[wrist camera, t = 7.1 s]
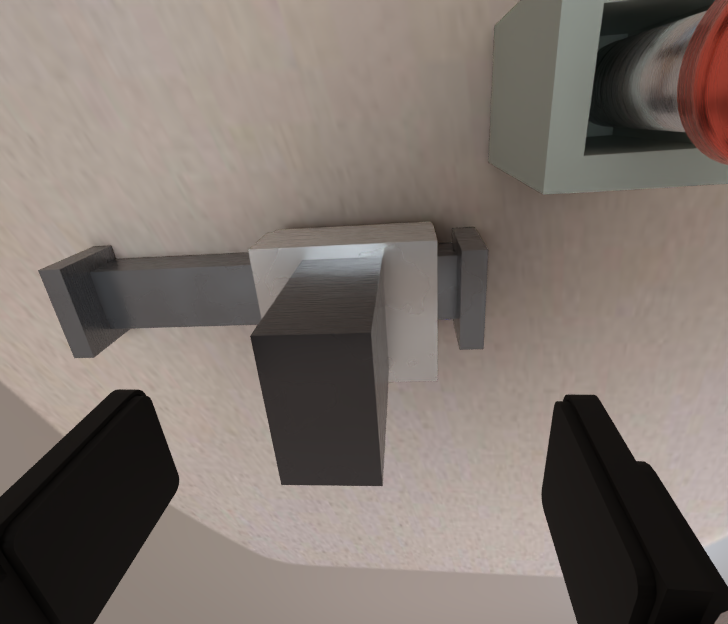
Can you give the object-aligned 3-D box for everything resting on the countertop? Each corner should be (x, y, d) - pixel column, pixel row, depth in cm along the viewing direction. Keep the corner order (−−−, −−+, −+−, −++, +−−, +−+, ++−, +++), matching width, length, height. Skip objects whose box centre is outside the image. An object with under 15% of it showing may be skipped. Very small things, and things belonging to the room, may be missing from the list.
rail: (474, 226, 20) (488, 249, 16) (471, 313, 22) (483, 348, 18) (92, 246, 22) (38, 270, 18) (119, 323, 24) (74, 357, 20)
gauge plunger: (690, 11, 11) (1051, -115, 5) (664, 140, 13) (923, 168, 6) (564, 24, 12) (755, -80, 5) (552, 148, 13) (692, 182, 7)
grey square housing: (632, 11, 16) (824, -73, 9) (609, 159, 18) (747, 190, 11) (494, 25, 16) (566, -44, 9) (488, 167, 19) (542, 202, 11)
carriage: (431, 217, 19) (456, 310, 10) (431, 337, 21) (452, 499, 12) (275, 225, 19) (168, 320, 11) (294, 341, 22) (220, 496, 13)
